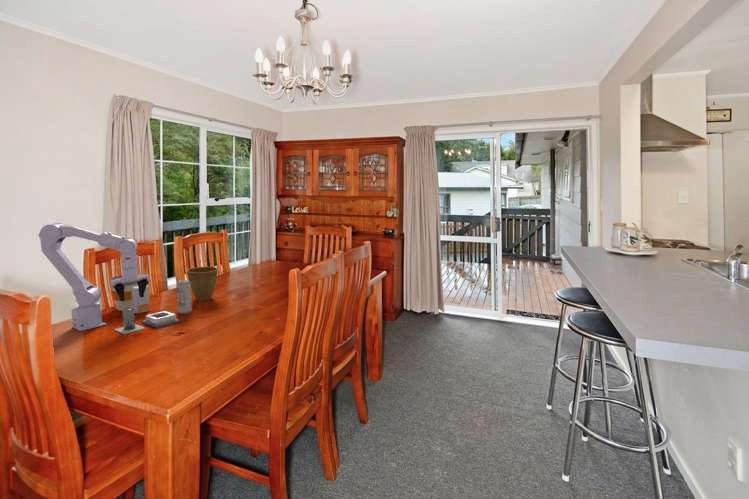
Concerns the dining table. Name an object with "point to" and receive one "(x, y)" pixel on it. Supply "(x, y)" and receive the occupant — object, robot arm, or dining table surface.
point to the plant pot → (203, 281)
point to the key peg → (128, 318)
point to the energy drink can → (184, 297)
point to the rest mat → (129, 330)
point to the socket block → (160, 319)
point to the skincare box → (140, 300)
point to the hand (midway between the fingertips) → (132, 298)
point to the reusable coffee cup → (127, 294)
